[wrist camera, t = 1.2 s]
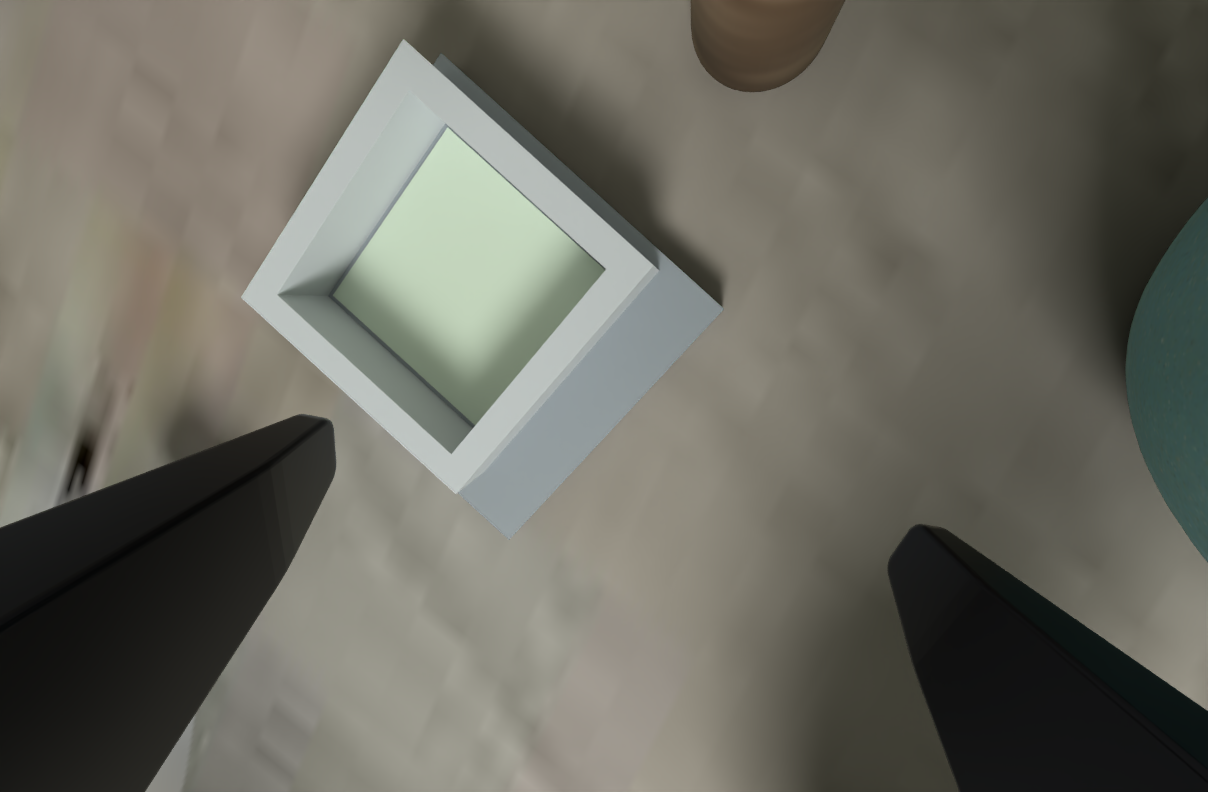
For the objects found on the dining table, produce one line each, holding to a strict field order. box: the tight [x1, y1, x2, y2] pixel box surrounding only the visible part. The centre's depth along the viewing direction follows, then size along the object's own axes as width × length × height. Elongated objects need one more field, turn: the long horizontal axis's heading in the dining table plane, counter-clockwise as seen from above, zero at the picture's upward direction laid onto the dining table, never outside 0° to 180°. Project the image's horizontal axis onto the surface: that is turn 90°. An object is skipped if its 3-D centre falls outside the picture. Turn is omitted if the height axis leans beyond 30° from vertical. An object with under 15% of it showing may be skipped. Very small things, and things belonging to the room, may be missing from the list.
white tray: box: [241, 39, 724, 539], centre depth 18 cm, size 13×12×4 cm
